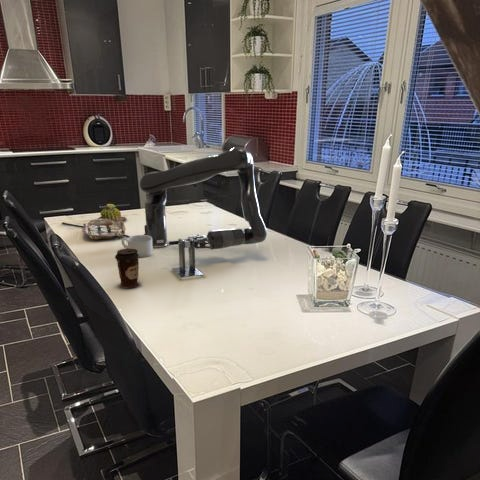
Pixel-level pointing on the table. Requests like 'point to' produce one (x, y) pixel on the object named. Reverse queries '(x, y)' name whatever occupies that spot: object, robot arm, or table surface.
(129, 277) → the coffee cup
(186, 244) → the lever
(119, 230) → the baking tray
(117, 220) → the cactus
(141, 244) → the teacup
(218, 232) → the robot arm
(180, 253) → the bracket
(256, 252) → the table surface
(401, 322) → the table surface
